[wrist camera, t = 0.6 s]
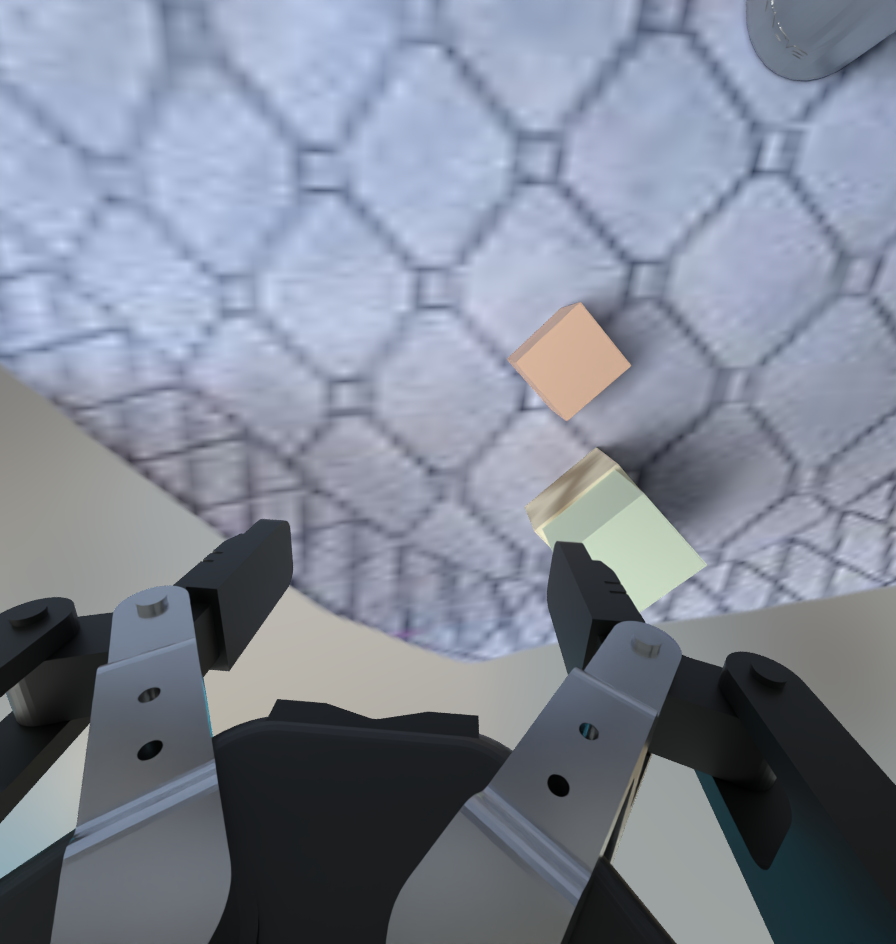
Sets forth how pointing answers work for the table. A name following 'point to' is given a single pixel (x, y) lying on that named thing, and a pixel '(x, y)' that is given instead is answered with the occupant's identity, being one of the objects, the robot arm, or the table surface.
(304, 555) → the table surface
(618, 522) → the sage top block
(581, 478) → the birch base block
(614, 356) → the terracotta block
